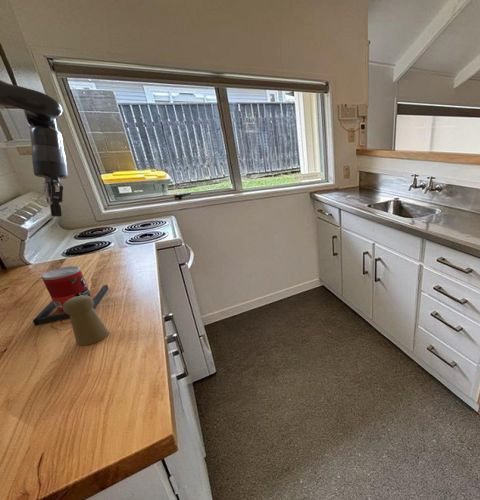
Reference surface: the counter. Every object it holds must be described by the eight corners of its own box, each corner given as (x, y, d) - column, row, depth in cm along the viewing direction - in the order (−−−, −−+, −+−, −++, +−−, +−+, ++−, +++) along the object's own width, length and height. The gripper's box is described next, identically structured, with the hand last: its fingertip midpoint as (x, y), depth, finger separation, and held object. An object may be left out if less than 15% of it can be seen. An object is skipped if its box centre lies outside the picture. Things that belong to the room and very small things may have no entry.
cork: (85, 348, 65) (67, 307, 61) (70, 342, 67) (51, 303, 63) (114, 332, 70) (98, 294, 66) (99, 327, 72) (83, 290, 68)
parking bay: (34, 325, 74) (32, 320, 74) (61, 297, 88) (59, 293, 87) (92, 313, 79) (90, 308, 78) (108, 288, 93) (107, 284, 92)
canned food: (88, 307, 82) (73, 273, 78) (52, 315, 79) (34, 280, 75) (97, 295, 88) (83, 263, 84) (64, 302, 85) (48, 269, 81)
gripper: (28, 163, 91) (35, 217, 92) (36, 156, 83) (43, 215, 85) (61, 166, 97) (67, 217, 98) (71, 160, 89) (77, 215, 91)
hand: (56, 216), depth 92 cm, fingers closed
